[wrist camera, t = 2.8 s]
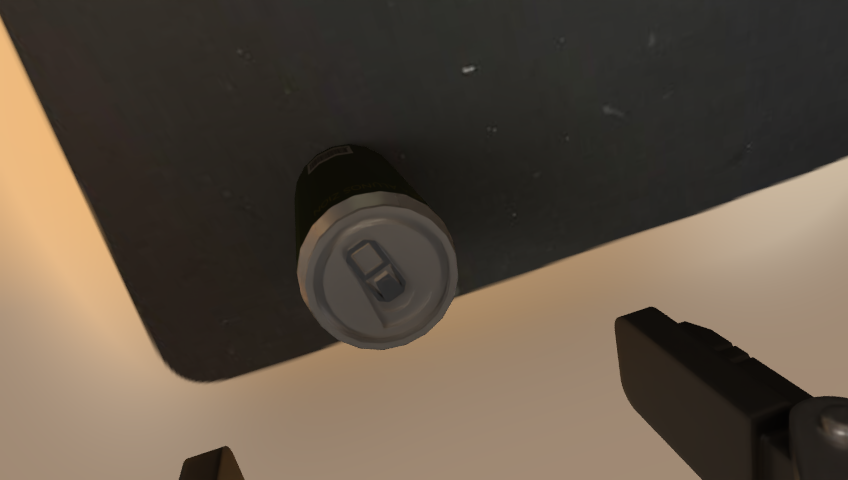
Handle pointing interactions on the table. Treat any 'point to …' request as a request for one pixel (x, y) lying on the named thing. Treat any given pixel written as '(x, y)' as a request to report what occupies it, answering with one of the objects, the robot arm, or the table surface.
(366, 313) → the guarana soda can
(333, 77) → the table surface
